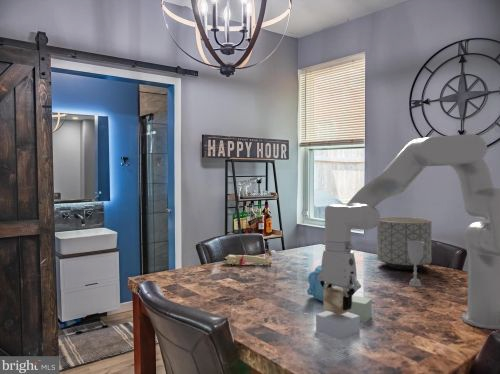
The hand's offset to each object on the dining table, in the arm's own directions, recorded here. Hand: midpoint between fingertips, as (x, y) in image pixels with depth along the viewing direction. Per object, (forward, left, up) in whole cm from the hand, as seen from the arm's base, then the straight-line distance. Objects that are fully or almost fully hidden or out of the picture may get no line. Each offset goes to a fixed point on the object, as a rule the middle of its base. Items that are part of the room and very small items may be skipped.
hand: (337, 305), depth 118 cm
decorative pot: (+20, -22, -8) cm, 31 cm away
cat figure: (+84, -35, -8) cm, 92 cm away
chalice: (+9, -64, -8) cm, 65 cm away
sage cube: (+2, -14, -8) cm, 16 cm away
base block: (0, 0, -8) cm, 8 cm away
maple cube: (0, 0, -1) cm, 1 cm away
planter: (+28, -89, -8) cm, 94 cm away
